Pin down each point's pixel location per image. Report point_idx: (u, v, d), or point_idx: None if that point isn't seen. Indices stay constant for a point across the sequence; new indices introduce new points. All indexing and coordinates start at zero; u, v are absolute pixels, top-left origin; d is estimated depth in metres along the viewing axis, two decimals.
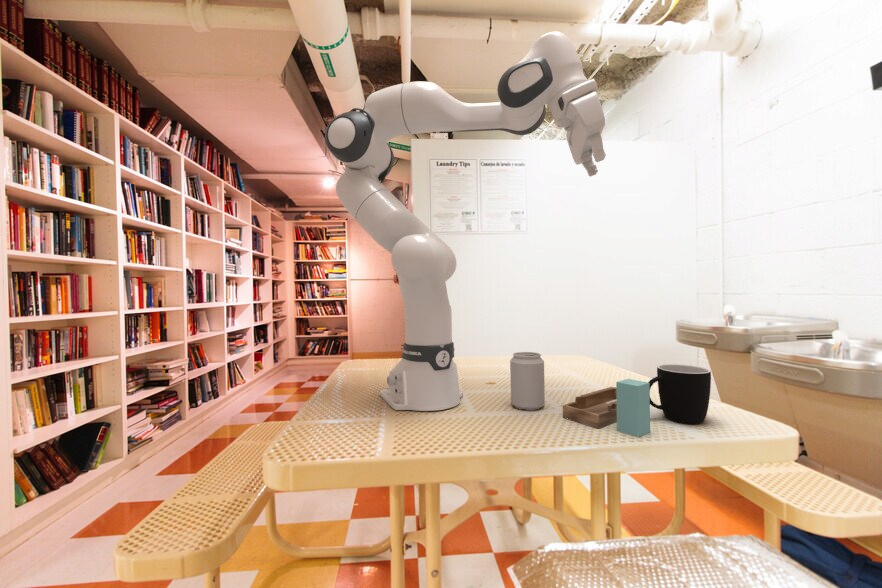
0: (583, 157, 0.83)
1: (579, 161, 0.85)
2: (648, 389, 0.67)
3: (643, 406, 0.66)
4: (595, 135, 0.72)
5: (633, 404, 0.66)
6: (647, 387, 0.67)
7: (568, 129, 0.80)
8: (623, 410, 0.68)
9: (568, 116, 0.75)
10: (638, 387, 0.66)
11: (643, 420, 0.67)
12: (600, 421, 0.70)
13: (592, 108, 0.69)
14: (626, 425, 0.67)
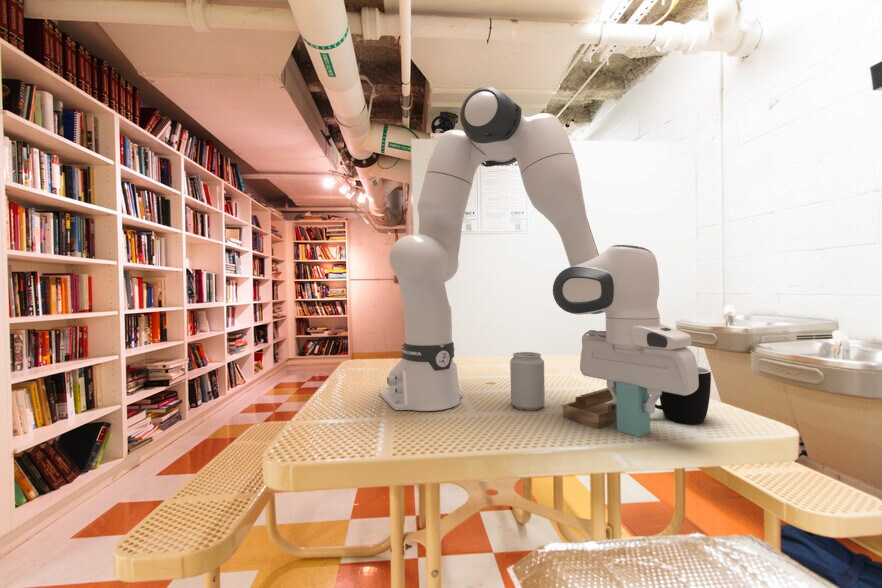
0: None
1: None
2: None
3: None
4: (659, 389, 0.65)
5: (633, 404, 0.66)
6: None
7: None
8: (623, 410, 0.68)
9: (650, 353, 0.63)
10: (638, 387, 0.66)
11: (643, 420, 0.66)
12: (600, 421, 0.70)
13: (694, 372, 0.60)
14: (626, 425, 0.67)
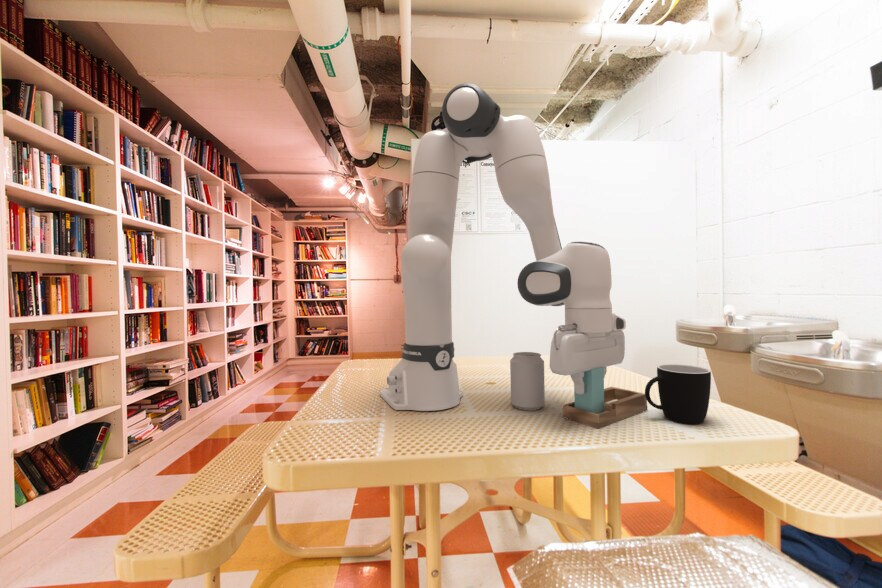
0: None
1: (572, 374, 0.70)
2: None
3: None
4: None
5: (601, 384, 0.74)
6: None
7: (594, 340, 0.72)
8: (595, 394, 0.73)
9: (612, 336, 0.75)
10: None
11: None
12: (600, 421, 0.70)
13: None
14: (597, 407, 0.73)
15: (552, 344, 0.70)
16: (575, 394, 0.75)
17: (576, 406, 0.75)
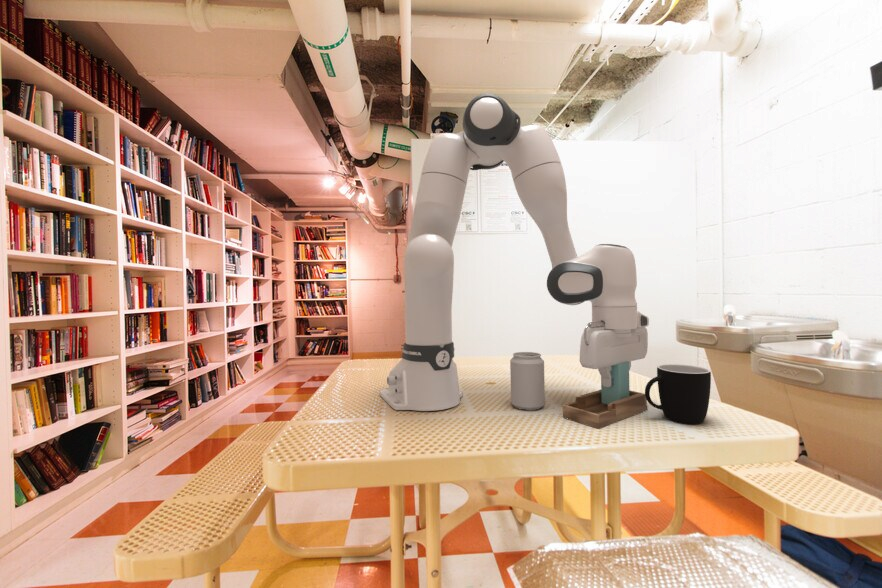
0: None
1: (600, 367, 0.75)
2: None
3: None
4: None
5: (627, 378, 0.79)
6: None
7: (621, 336, 0.77)
8: (622, 387, 0.78)
9: (636, 332, 0.80)
10: None
11: None
12: (600, 421, 0.70)
13: None
14: None
15: (582, 340, 0.76)
16: (602, 387, 0.80)
17: (603, 398, 0.80)
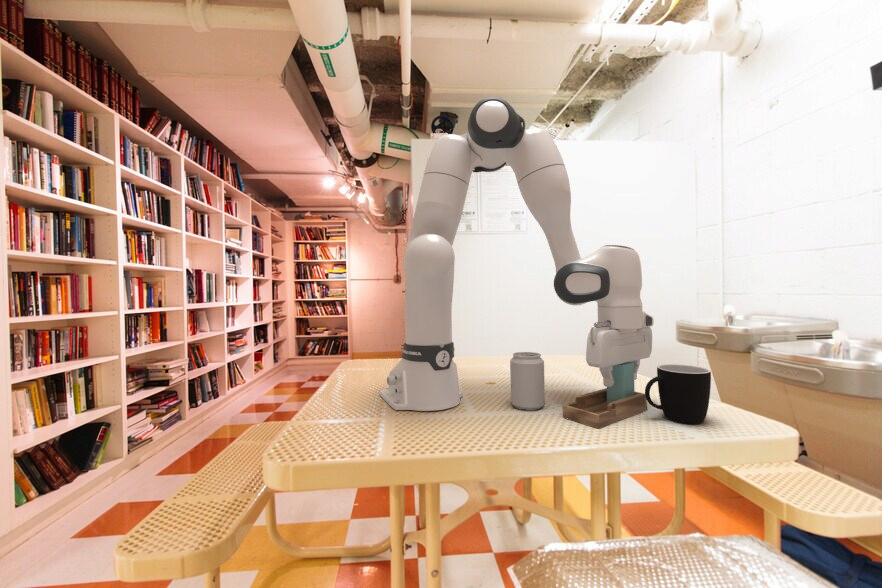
0: None
1: (607, 366, 0.76)
2: None
3: None
4: None
5: (632, 379, 0.80)
6: None
7: None
8: (627, 388, 0.79)
9: (641, 332, 0.82)
10: None
11: None
12: (600, 421, 0.70)
13: None
14: None
15: (588, 340, 0.77)
16: (607, 388, 0.82)
17: (608, 399, 0.81)
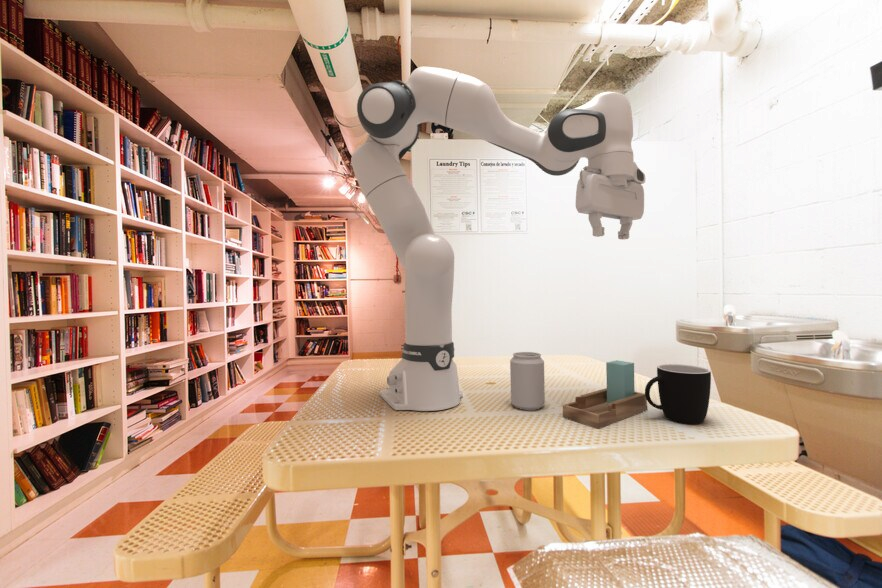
0: None
1: (596, 211, 0.75)
2: None
3: None
4: None
5: (632, 379, 0.80)
6: None
7: (617, 185, 0.77)
8: (627, 388, 0.79)
9: (633, 187, 0.80)
10: None
11: None
12: (600, 421, 0.70)
13: None
14: None
15: (578, 185, 0.75)
16: (607, 388, 0.82)
17: (608, 399, 0.81)
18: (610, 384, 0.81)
